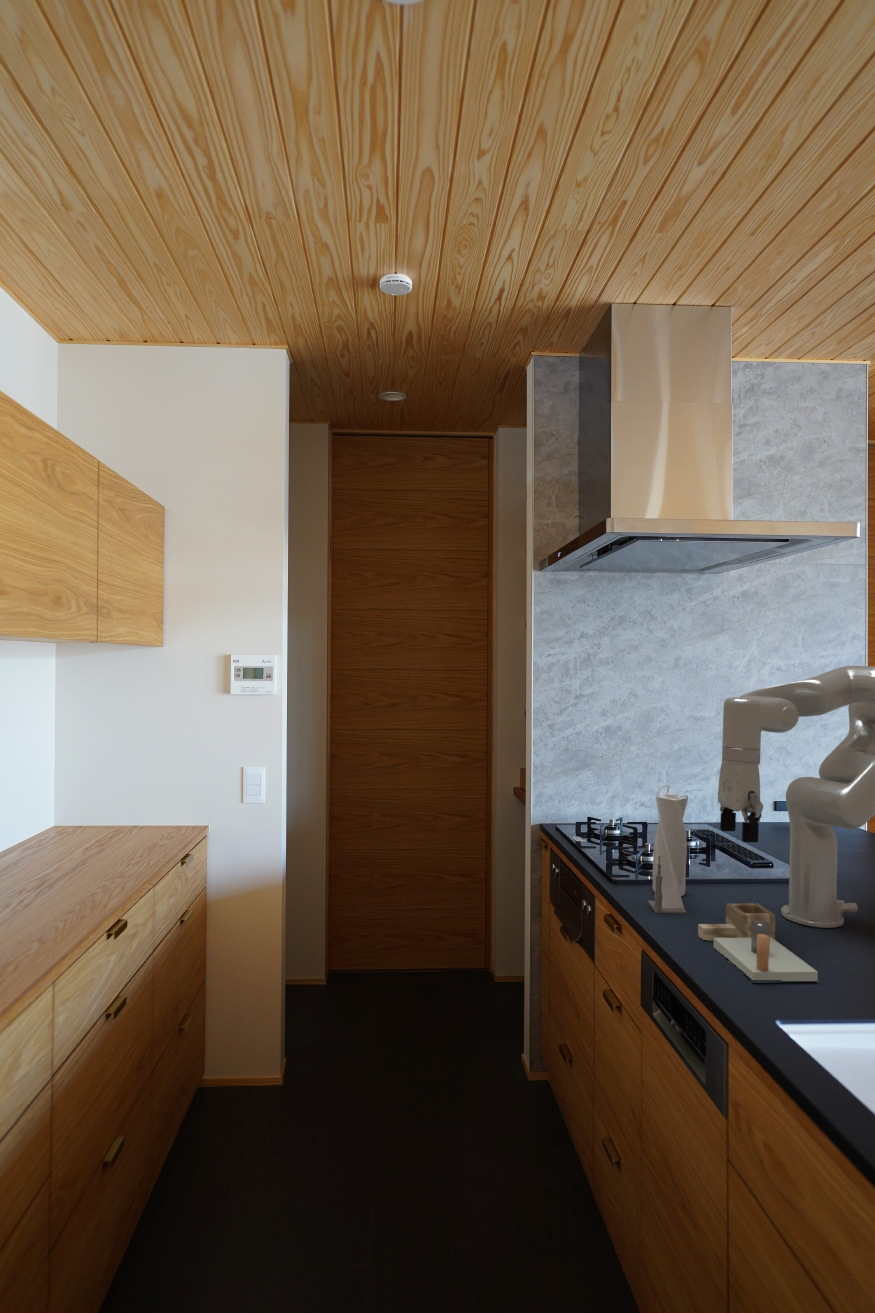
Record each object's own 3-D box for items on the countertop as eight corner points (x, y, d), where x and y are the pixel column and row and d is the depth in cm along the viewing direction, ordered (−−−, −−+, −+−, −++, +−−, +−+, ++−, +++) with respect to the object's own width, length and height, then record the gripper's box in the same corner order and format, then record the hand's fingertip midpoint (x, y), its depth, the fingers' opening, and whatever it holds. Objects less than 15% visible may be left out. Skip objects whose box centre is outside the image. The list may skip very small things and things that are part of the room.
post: (764, 948, 143) (764, 920, 142) (772, 955, 139) (773, 926, 139) (748, 948, 142) (748, 920, 142) (756, 955, 139) (756, 926, 139)
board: (771, 947, 148) (771, 937, 148) (817, 983, 132) (817, 972, 132) (713, 948, 147) (713, 938, 147) (752, 983, 131) (753, 972, 131)
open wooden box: (757, 931, 157) (758, 903, 157) (774, 944, 150) (775, 915, 150) (693, 932, 156) (694, 903, 156) (707, 945, 149) (708, 915, 149)
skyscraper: (646, 900, 176) (648, 783, 176) (680, 901, 175) (682, 784, 175) (655, 912, 167) (657, 789, 167) (691, 913, 167) (693, 790, 167)
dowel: (764, 966, 134) (765, 934, 134) (770, 971, 132) (771, 938, 132) (754, 967, 134) (754, 934, 134) (759, 971, 132) (760, 938, 132)
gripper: (706, 750, 165) (703, 826, 164) (743, 761, 147) (741, 846, 147) (738, 751, 165) (736, 827, 165) (779, 762, 148) (777, 847, 148)
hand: (738, 836), depth 156 cm, fingers open, 9 cm apart
